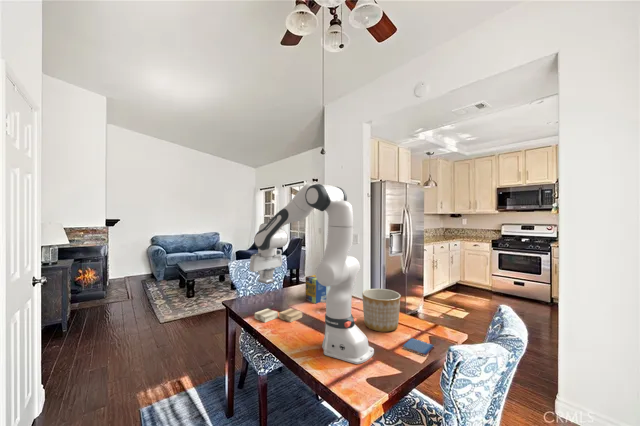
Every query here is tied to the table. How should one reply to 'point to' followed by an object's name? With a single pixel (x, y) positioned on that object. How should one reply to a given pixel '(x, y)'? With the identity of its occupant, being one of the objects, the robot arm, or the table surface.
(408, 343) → the blue sponge
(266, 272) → the housing
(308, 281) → the protein box
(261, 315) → the stand
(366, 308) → the planter
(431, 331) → the table surface
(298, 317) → the stand
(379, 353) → the table surface
